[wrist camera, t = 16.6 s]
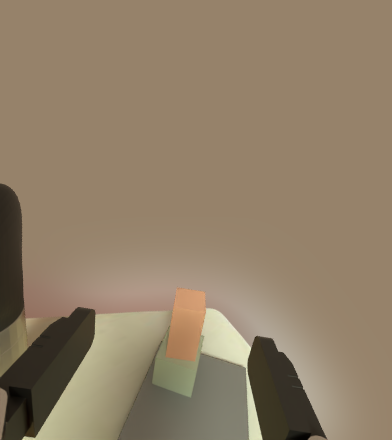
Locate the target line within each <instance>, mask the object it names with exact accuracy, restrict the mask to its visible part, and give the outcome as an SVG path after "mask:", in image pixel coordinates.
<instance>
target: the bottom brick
mask: <svg viewBox="0 0 392 440" xmlns="http://www.w3.org/2000/svg"><path fill="white" fill-rule="evenodd" d="M169 332H170V326H169V328H168V330H167V333H166V335H165V337H164V340H163V342H162V344H161V346H160V349H159V351H158V353H157V356H156V359H155V366H154V373H153V380H152V384H154V385H157V386H160V387H162V388H165V389H168V390H171V391H174V392H176V393H179V394H182V395H185V396H187V397H190V398H191V395H192V391H193V386H194V382H195V377H196V373H197V368H198V363H199V358H200V353H201V348H202V343H203V338H204V336H202V335H201V336H200V341H199V346H198V350H197V355H196V360H195V361H188V360H181V359H174V358H168V357H165V356H166V350H167V344H168V338H169Z"/></svg>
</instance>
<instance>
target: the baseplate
mask: <svg viewBox="0 0 392 440" xmlns="http://www.w3.org/2000/svg"><path fill="white" fill-rule="evenodd" d="M162 342H163V341H161V344H162ZM161 344H160V346H161ZM160 346H159V348H158V350H157V353H158V351H159V349H160ZM157 353H156V355H155V357H154V359H153V362H152V364H151V366H150V368H149V371H148V373H147V375H146V377H145V380H144V382H143V384H142V386H141V389H140V391H139V393H138V395H137V397H136V400H135V402H134V404H133V406H132V409H131V411H130V413H129V415H128V418H127V420H126V422H125V424H124V427H123V429H122V431H121V433H120V436H119V438H118V440H249V431H248V409H247V386H246V368H244V367H241V366H238V365H235V364H232V363H229V362H226V361H222V360H219V359H216V358H213V357H210V356H207V355H204V354H201V353H200V358H199V363H198V368H197V373H196V377H195V382H194V386H193V391H192V395H191V398H190V397H187V396H185V395H182V394H179V393H176V392H174V391H171V390H168V389H165V388H162V387H160V386H157V385H154V384H152V380H153V373H154V366H155V359H156V356H157Z"/></svg>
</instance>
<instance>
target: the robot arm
mask: <svg viewBox="0 0 392 440" xmlns="http://www.w3.org/2000/svg"><path fill="white" fill-rule="evenodd" d="M94 334H95V310H93V309H88V308H81V307H78V308H77V309H75V311H74V312H73V313H72V314H71V315H70V316H69V317H68V318H65V317H62V318H60V319H59V320H57V321H56V322H54V323H52V324H51V325H49V327H48V328H47V329H46V330H45V331H44V332H43V333H42V334H41V335H40V337H38V338H37V339H36V340H35V341H34V342H33V343H32V345H31V346H30V347H29V348H28V344H27V331H26V321H25V308H24V298H23V271H22V214H21V208H20V203H19V201H18V197H17V196H16V194H15V192H14V191H13V190H12V189H11V188H10V187H8V186H6V185H4V184H0V440H22V439H23V437H24V436H26V437H33V438H35V437H36V436H37V434H38V432H39V431H40V429H41V427H42V426H43V424H44V422H45V421H46V419H47V418H48V416H49V414H50V413H51V411H52V409H53V408H54V406H55V405H56V403H57V401H58V400H59V398H60V396H61V395H62V393H63V391H64V390H65V388H66V387H67V385H68V383H69V382H70V380H71V378H72V377H73V375H74V373H75V372H76V370H77V369H78V367H79V365H80V364H81V362H82V360H83V359H84V357H85V355H86V354H87V352H88V351H89V349H90V347H91V345H92V342H93V339H94ZM248 376H249V380H250V385H251V389H252V394H253V398H254V403H255V407H256V412H257V416H258V421H259V425H260V430H261V434H262V438H263V440H327V438H326V436H325V434H324V432H323V430H322V428H321V426H320V423H319V421H318V419H317V417H316V414H315V412H314V410H313V408H312V406H311V403H310V401H309V399H308V397H307V395H306V393H305V390H303V386H302V384H301V382H300V380H299V379H298V375H297V373H296V371H295V368H294V366H293V364H292V363H291V361H290V360H289V359H288V358H287V357H286V355H285V354H284V353H283V352H278V350H277V348H276V345H275V343H274V341H273V339H271V338H266V337H260V336H256V337H255V339H254V342H253V345H252V348H251V351H250V355H249V358H248Z"/></svg>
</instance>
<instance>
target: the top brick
mask: <svg viewBox="0 0 392 440" xmlns="http://www.w3.org/2000/svg"><path fill="white" fill-rule="evenodd" d="M205 313H206V306H205V292H202V291H195V290H189V289H183V288H177V291H176V297H175V302H174V308H173V313H172V319H171V326H170V332H169V338H168V344H167V350H166V356H165V357H168V358H174V359H181V360H188V361H195V360H196V355H197V350H198V346H199V341H200V336H201V332H202V327H203V322H204V318H205Z"/></svg>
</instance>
